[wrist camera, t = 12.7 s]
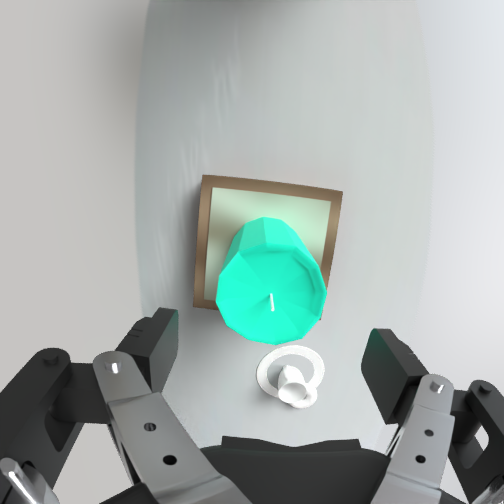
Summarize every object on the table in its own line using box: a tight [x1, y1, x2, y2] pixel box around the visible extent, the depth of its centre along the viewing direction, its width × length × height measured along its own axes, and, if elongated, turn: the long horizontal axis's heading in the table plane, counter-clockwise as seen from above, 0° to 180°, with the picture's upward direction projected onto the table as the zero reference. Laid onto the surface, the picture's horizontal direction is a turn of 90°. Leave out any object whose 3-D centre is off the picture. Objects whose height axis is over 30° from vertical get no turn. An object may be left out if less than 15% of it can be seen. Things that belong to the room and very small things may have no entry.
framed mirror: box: [193, 175, 343, 320], centre depth 28 cm, size 12×12×4 cm
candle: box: [216, 217, 327, 345], centre depth 21 cm, size 6×6×12 cm
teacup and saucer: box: [257, 345, 324, 409], centre depth 32 cm, size 9×8×4 cm
